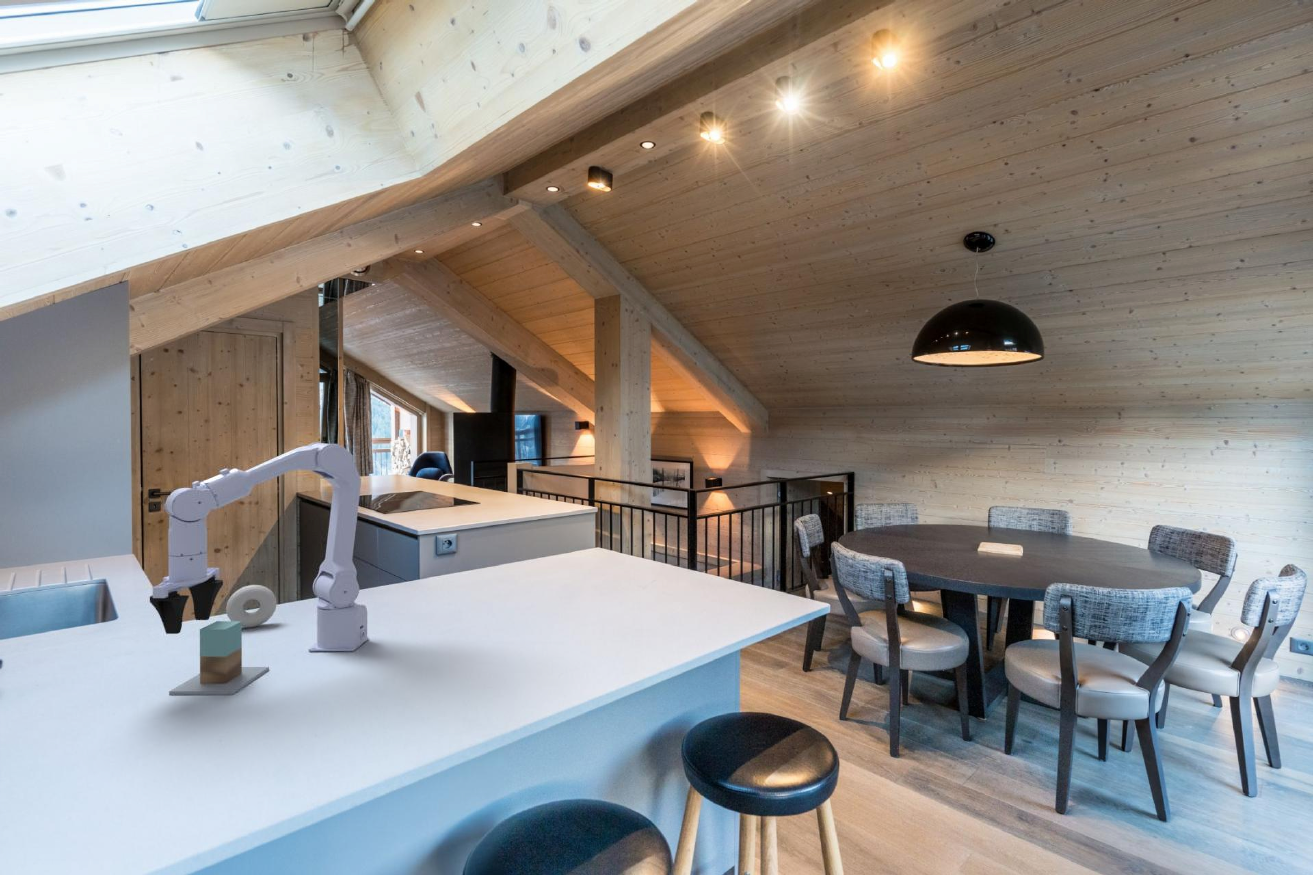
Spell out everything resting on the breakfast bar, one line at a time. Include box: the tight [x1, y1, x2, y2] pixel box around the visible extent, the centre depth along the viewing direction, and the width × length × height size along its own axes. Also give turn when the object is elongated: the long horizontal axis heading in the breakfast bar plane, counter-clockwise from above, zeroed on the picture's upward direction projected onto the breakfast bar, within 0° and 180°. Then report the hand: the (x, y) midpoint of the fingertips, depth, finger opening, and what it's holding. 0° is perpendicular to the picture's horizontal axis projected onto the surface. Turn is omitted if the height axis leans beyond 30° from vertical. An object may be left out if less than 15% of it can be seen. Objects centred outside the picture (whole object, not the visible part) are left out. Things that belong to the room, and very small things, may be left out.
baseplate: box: [168, 666, 270, 696], centre depth 116 cm, size 11×11×1 cm
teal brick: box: [199, 620, 243, 658], centre depth 116 cm, size 5×5×5 cm
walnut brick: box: [199, 648, 243, 684], centre depth 116 cm, size 5×5×5 cm
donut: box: [225, 584, 278, 628], centre depth 146 cm, size 10×4×10 cm, turn 121°
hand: (188, 626), depth 115 cm, fingers open, 7 cm apart
